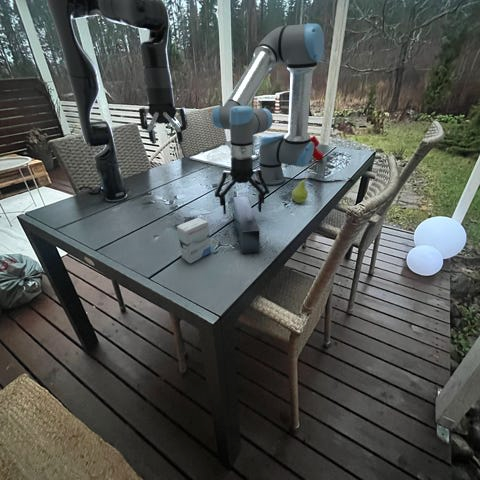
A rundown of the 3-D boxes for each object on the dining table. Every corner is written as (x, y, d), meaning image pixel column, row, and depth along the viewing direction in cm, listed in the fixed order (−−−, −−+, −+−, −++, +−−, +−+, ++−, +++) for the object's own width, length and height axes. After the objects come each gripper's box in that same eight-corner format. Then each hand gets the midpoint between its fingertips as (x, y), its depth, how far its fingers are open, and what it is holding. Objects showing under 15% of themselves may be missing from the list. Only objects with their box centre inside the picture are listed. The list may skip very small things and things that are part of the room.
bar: (233, 216, 110) (233, 197, 106) (247, 215, 111) (247, 196, 106) (242, 254, 88) (242, 231, 84) (258, 252, 89) (259, 230, 84)
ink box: (202, 246, 92) (199, 215, 85) (211, 252, 89) (209, 221, 82) (180, 257, 87) (176, 225, 80) (190, 264, 84) (185, 231, 77)
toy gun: (327, 155, 171) (314, 135, 167) (326, 157, 167) (314, 136, 164) (302, 170, 181) (290, 151, 177) (301, 172, 177) (288, 153, 174)
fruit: (288, 200, 123) (290, 174, 116) (302, 197, 125) (305, 172, 119) (296, 206, 118) (299, 179, 111) (310, 203, 120) (314, 177, 114)
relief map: (231, 168, 161) (231, 160, 158) (189, 159, 179) (189, 151, 176) (257, 158, 179) (257, 150, 176) (217, 150, 197) (216, 142, 194)
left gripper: (129, 86, 76) (141, 146, 85) (179, 86, 75) (186, 146, 84) (139, 85, 82) (149, 140, 91) (185, 85, 82) (191, 140, 90)
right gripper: (205, 161, 89) (210, 218, 100) (279, 157, 91) (276, 214, 103) (205, 155, 95) (209, 209, 107) (274, 151, 97) (271, 205, 109)
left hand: (167, 143), depth 88 cm, fingers open, 8 cm apart
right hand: (242, 211), depth 105 cm, fingers open, 13 cm apart
